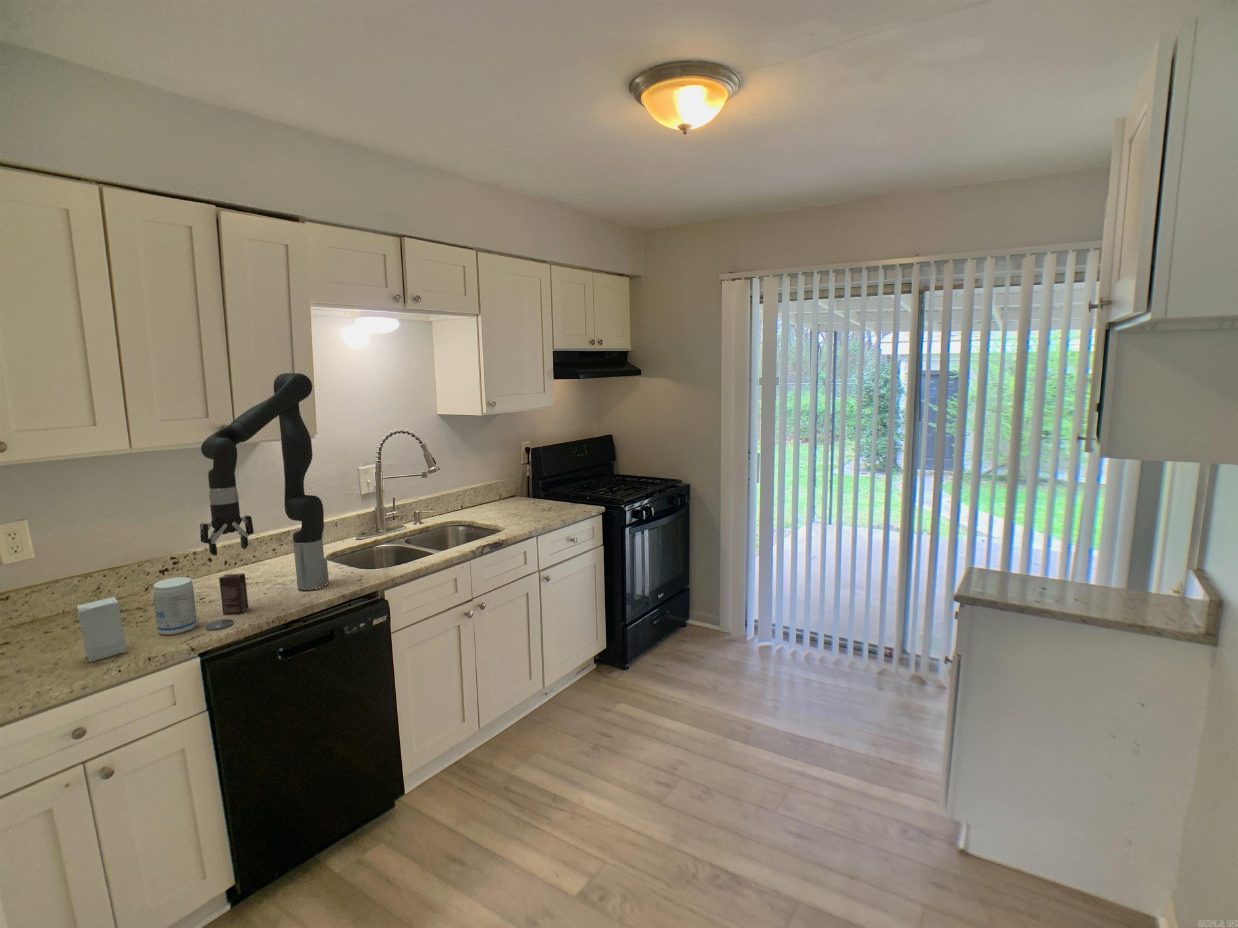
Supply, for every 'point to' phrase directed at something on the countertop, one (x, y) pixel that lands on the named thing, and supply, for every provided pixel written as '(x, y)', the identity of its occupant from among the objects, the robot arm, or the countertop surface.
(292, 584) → the countertop surface
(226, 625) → the slate coaster
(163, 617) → the supplement tub
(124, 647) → the skincare box
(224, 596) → the box
